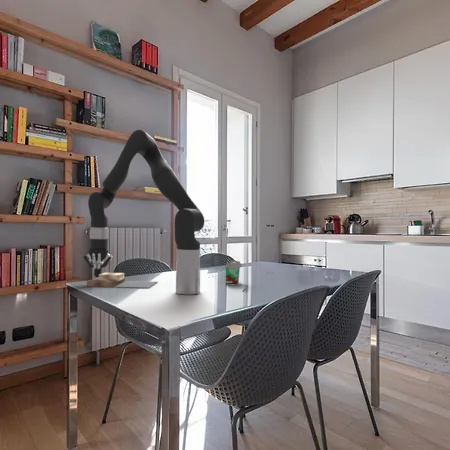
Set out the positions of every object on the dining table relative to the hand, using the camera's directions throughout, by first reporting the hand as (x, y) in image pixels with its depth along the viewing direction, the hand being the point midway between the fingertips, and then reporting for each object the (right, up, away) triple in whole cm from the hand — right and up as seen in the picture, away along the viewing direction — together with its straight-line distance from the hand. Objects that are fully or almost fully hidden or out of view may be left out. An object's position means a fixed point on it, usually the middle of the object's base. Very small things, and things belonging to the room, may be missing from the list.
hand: (97, 277), depth 144 cm
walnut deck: (+4, -3, 0) cm, 5 cm away
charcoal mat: (+18, -3, -1) cm, 18 cm away
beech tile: (+6, -1, 0) cm, 6 cm away
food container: (+60, -5, +9) cm, 61 cm away
